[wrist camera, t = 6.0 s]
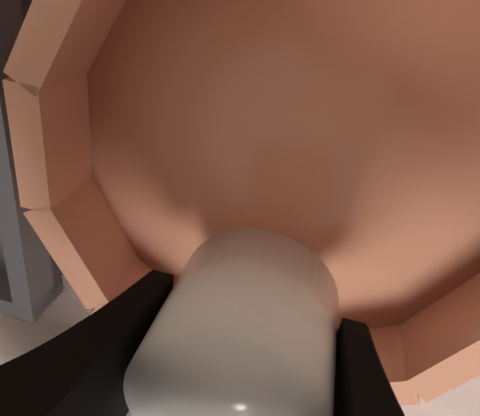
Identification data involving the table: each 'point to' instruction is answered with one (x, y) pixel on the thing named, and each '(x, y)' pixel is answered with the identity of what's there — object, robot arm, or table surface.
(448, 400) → the table surface
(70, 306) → the table surface
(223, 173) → the bowl
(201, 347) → the white rounded piece
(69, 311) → the table surface
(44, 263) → the parts tray
